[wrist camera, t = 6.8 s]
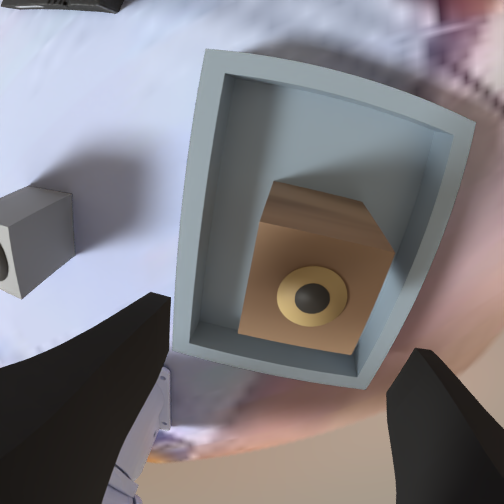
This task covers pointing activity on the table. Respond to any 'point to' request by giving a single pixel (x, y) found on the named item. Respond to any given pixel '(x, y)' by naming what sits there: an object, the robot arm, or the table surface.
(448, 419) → the robot arm
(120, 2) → the disk drive
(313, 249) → the walnut block
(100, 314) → the table surface
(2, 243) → the grey button block
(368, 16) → the table surface
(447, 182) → the tray
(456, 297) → the table surface
